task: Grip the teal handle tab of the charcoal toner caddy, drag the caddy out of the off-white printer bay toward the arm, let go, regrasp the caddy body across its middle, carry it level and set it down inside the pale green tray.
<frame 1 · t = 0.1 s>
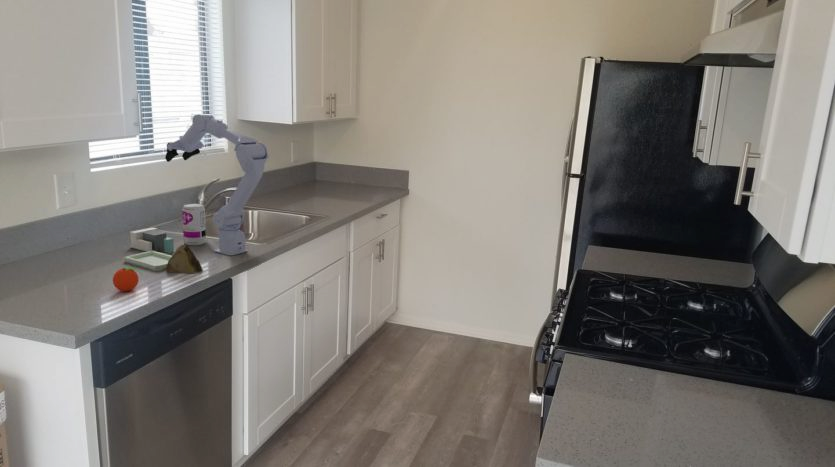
hand: (175, 158, 231), 32 cm above the worktop, tool tilted 50°, fingers open, 7 cm apart
rock: (183, 272, 200), on the worktop
toner caddy: (155, 248, 226), on the worktop
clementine: (128, 291, 181), on the worktop
printer bay: (155, 248, 226), on the worktop
supplement can: (195, 243, 235), on the worktop
tray: (154, 263, 208), on the worktop
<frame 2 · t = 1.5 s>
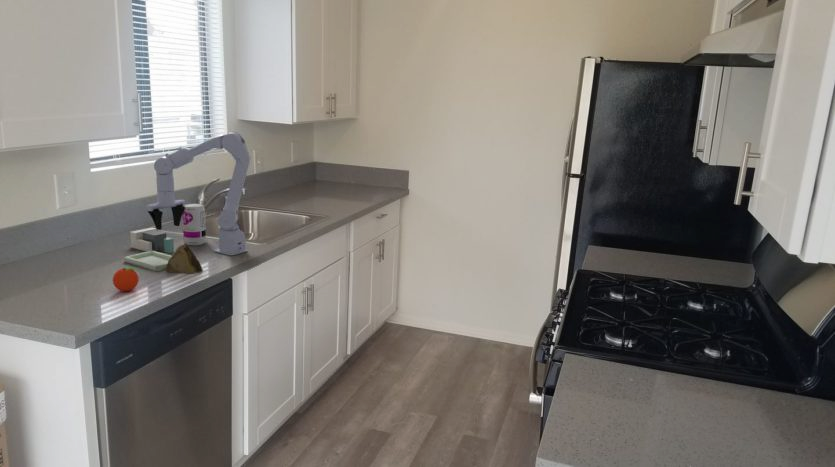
hand: (167, 227, 220), 9 cm above the worktop, tool pointing down, fingers open, 7 cm apart
nothing on the worktop moved.
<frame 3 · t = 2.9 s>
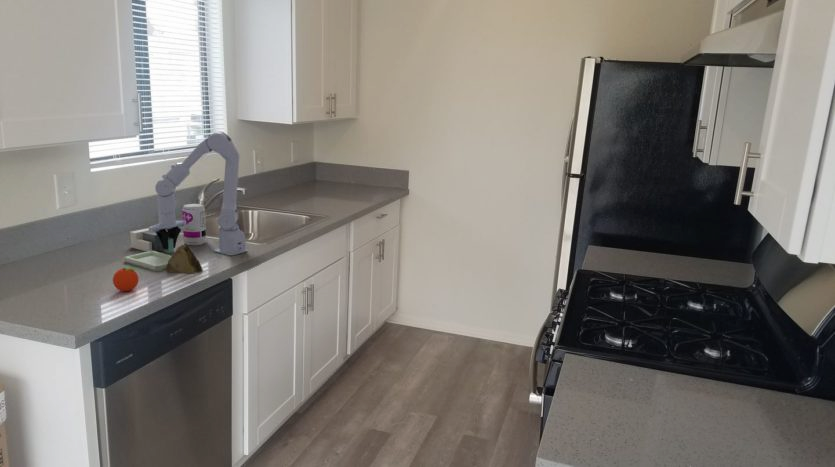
hand: (169, 248, 221), 1 cm above the worktop, tool pointing down, fingers closed on toner caddy, 2 cm apart
toner caddy: (155, 248, 226), on the worktop, touching gripper
everything else where it was.
when the fingers open (1 cm above the worktop, at t = 5.0 s): toner caddy stays where it is, on the worktop.
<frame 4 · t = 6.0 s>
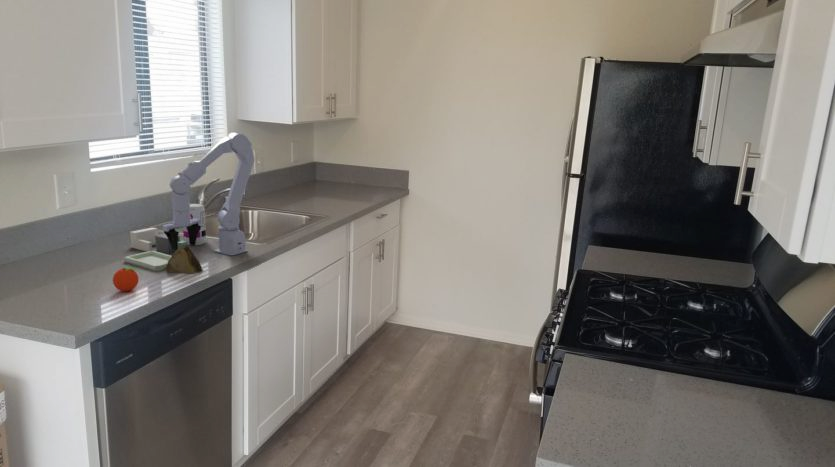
hand: (183, 247, 217), 3 cm above the worktop, tool pointing down, fingers open, 7 cm apart
toner caddy: (168, 251, 222), on the worktop
everything else where it was.
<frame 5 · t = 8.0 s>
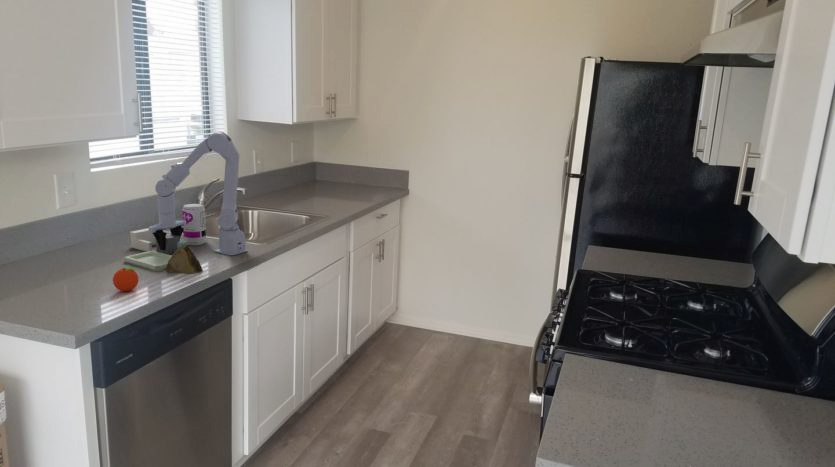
hand: (169, 248, 221), 1 cm above the worktop, tool pointing down, fingers closed on toner caddy, 5 cm apart
toner caddy: (168, 251, 222), on the worktop, touching gripper
everything else where it was.
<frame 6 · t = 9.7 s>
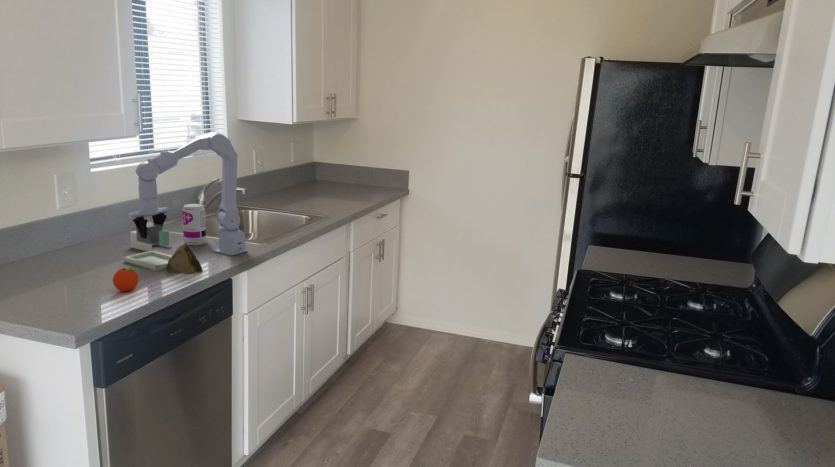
hand: (150, 236, 209), 9 cm above the worktop, tool pointing down, fingers closed on toner caddy, 5 cm apart
toner caddy: (149, 241, 210), point 7 cm above the worktop, touching gripper
everything else where it was.
when the fingers open (3 cm above the worktop, at t = 11.4 s): toner caddy stays where it is, resting on tray.
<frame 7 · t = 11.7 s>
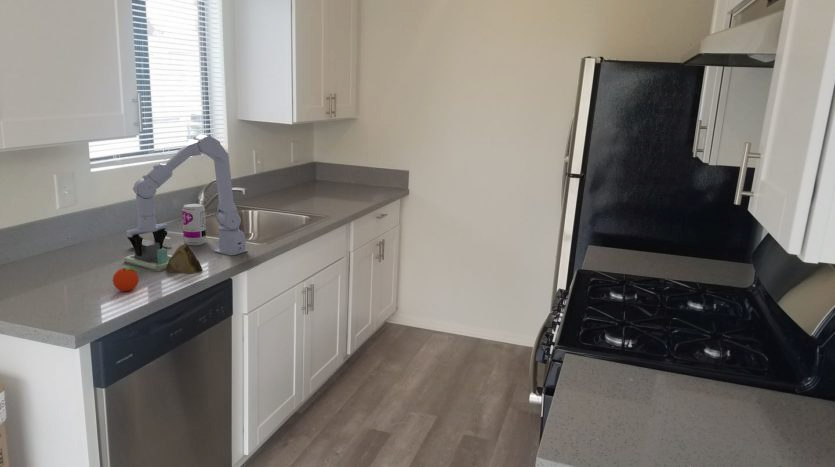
hand: (148, 253, 208), 3 cm above the worktop, tool pointing down, fingers open, 7 cm apart
toner caddy: (147, 259, 209), point 1 cm above the worktop, touching tray
everything else where it was.
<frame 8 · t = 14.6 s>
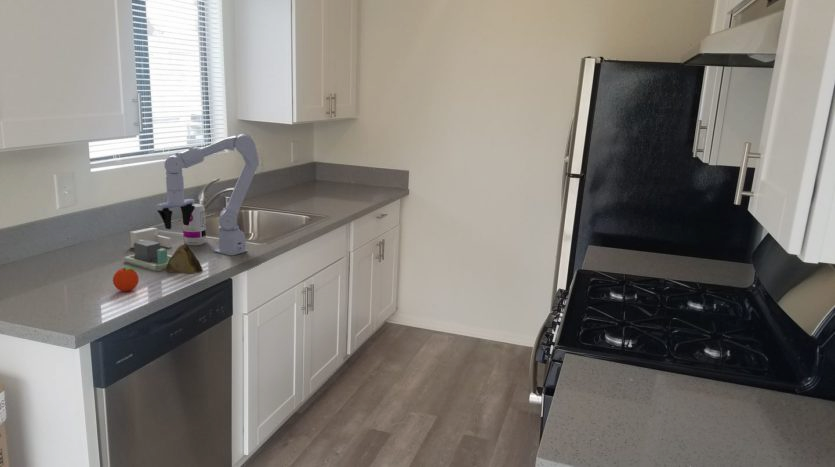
hand: (177, 226, 218), 10 cm above the worktop, tool pointing down, fingers open, 7 cm apart
nothing on the worktop moved.
at the end: toner caddy inside the target area on the tray (0.9 cm from its centre), point 0.6 cm above the tray's base; toner caddy tilted 0°; the gripper is holding nothing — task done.
